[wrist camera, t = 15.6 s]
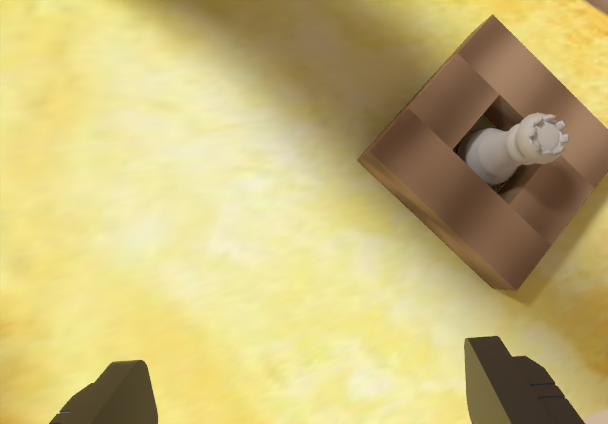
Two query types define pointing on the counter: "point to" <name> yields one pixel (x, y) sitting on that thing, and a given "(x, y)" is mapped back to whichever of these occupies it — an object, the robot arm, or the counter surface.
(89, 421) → the robot arm
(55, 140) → the counter surface
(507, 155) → the rook chess piece
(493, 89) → the socket board
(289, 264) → the counter surface
